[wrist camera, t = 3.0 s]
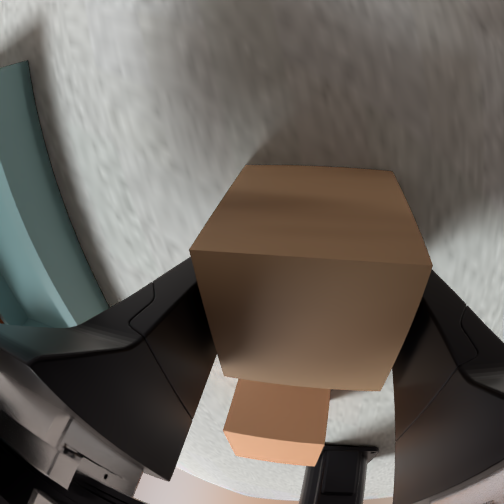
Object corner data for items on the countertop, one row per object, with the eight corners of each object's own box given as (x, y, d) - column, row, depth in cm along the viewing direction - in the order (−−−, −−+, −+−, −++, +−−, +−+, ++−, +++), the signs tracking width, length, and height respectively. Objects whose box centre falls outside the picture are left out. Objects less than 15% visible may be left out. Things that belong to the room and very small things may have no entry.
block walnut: (373, 284, 11) (380, 391, 7) (256, 276, 12) (224, 376, 8) (392, 171, 8) (433, 265, 5) (245, 165, 9) (188, 249, 6)
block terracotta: (323, 400, 17) (314, 466, 14) (252, 392, 18) (235, 455, 15) (332, 362, 14) (324, 444, 11) (246, 353, 15) (222, 430, 12)
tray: (135, 353, 18) (119, 383, 16) (31, 319, 21) (16, 339, 19) (27, 60, 8) (-19, 74, 6) (-55, 125, 11) (-81, 140, 9)
